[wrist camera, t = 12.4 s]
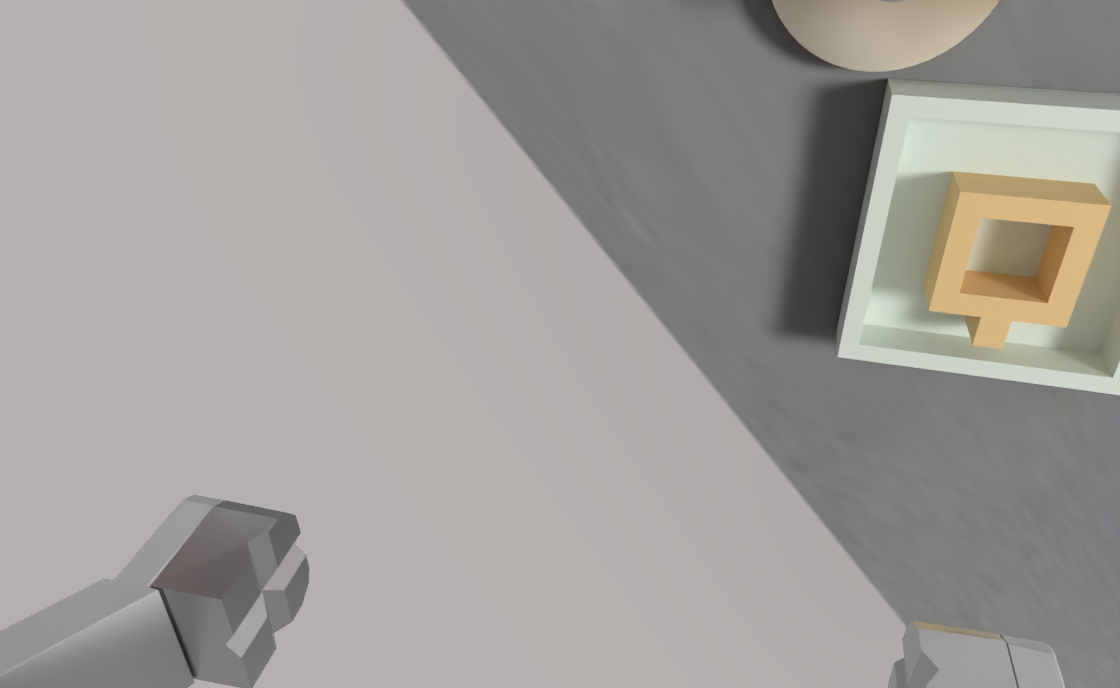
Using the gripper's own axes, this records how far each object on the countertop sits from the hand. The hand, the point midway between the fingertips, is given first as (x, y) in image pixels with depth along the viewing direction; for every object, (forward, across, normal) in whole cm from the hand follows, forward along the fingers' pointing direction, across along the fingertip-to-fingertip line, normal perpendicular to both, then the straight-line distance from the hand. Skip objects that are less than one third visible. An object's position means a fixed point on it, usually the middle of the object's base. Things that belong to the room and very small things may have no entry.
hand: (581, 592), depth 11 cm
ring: (+29, -13, +7) cm, 32 cm away
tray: (+29, -13, +7) cm, 33 cm away
